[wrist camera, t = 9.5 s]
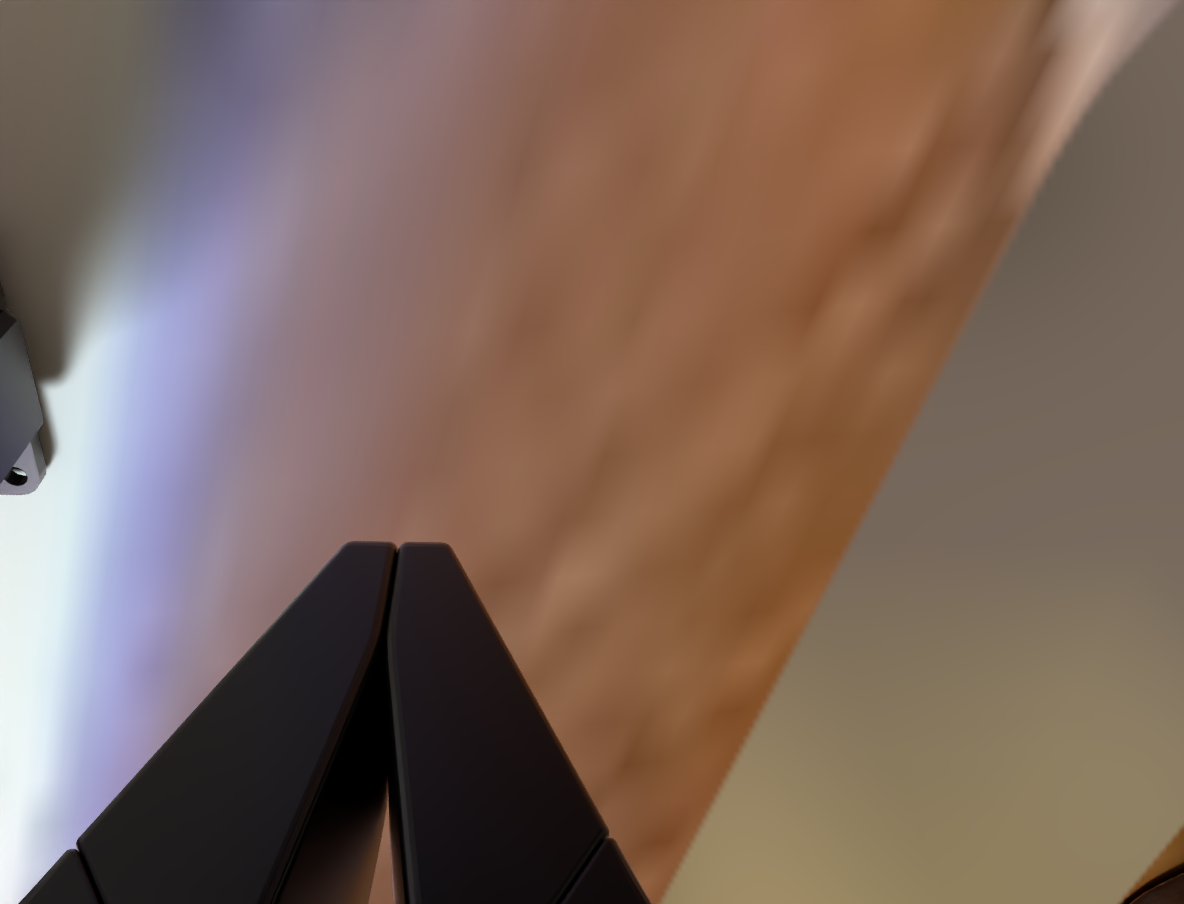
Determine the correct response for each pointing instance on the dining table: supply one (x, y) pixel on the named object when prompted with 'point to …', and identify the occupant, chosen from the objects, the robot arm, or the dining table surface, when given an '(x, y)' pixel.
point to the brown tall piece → (1164, 893)
